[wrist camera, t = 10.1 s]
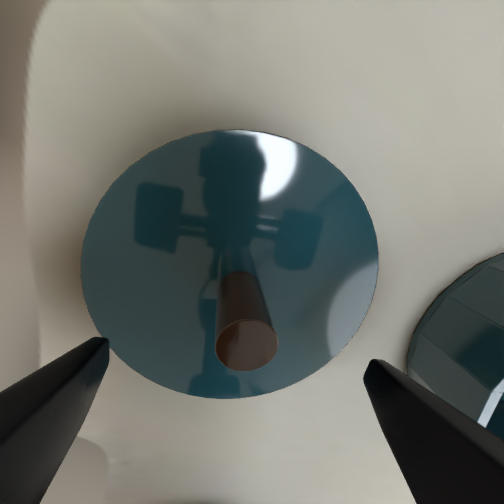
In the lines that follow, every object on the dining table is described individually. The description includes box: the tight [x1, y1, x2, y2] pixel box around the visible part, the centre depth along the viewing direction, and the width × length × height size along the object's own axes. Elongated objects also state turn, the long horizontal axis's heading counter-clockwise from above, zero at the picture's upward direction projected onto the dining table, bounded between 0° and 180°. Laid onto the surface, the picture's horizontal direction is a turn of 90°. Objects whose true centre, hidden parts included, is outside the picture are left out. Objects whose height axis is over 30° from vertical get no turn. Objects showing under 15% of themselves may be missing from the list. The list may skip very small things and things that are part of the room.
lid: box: [81, 129, 378, 399], centre depth 11 cm, size 16×16×5 cm
